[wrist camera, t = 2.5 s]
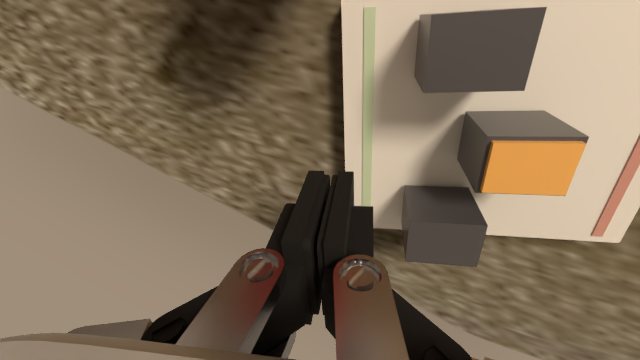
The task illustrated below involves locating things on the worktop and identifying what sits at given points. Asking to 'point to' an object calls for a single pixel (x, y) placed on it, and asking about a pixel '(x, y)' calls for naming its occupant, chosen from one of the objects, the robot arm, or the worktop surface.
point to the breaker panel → (488, 95)
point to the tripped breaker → (519, 152)
